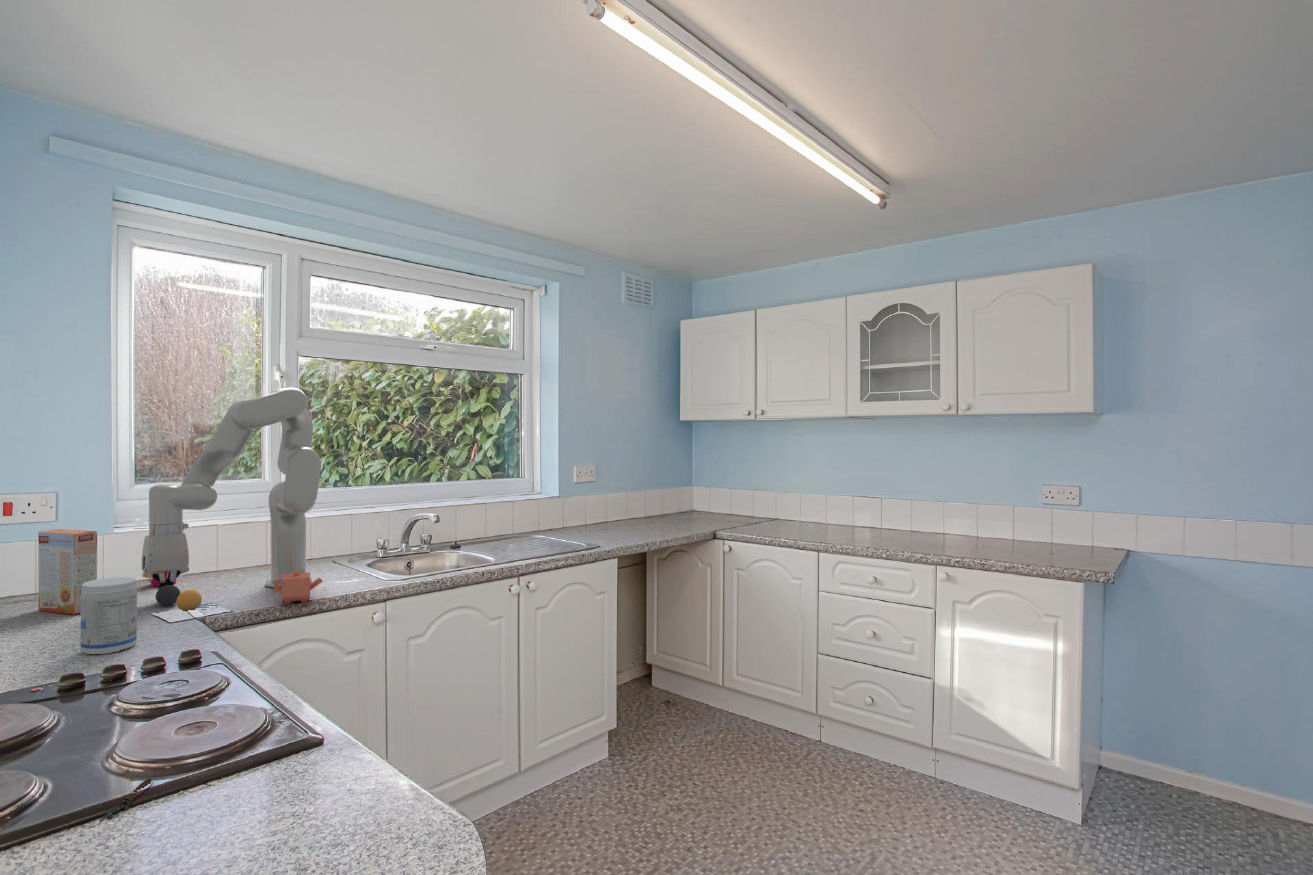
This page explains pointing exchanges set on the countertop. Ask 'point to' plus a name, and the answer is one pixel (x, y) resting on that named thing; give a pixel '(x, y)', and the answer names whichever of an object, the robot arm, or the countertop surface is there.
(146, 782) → the can opener
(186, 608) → the orange ball
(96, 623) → the supplement tub
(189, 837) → the countertop surface
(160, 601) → the dark grey ball
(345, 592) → the countertop surface
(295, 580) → the pink cube teapot
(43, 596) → the cracker box
